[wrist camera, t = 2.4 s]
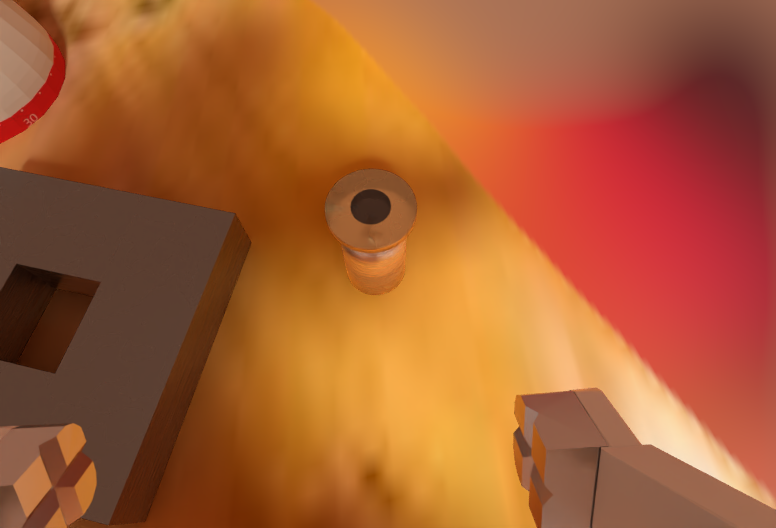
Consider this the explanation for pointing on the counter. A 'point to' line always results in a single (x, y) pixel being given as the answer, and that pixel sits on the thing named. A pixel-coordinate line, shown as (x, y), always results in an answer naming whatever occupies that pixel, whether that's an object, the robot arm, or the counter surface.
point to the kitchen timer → (26, 70)
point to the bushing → (372, 227)
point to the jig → (113, 321)
